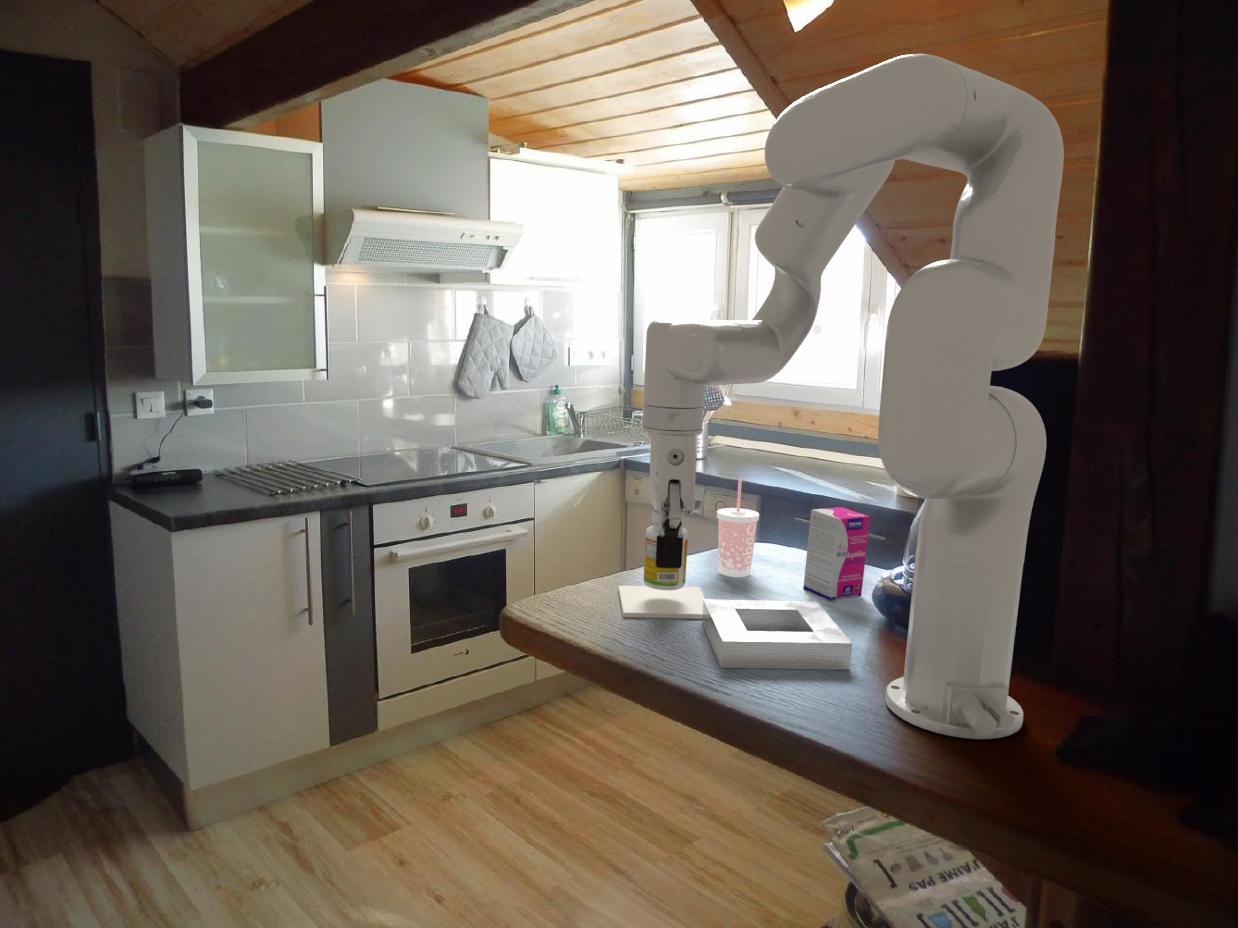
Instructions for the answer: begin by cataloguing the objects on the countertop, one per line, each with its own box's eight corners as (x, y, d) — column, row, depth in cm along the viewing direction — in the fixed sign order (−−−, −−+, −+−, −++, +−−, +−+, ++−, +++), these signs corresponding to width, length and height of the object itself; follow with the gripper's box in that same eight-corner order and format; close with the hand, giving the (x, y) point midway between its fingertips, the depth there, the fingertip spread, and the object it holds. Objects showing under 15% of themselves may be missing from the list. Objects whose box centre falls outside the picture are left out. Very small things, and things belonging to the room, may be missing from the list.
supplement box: (831, 602, 121) (838, 518, 119) (802, 589, 126) (808, 508, 124) (863, 597, 124) (871, 514, 122) (833, 584, 129) (840, 505, 127)
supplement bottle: (663, 576, 121) (666, 504, 119) (693, 586, 117) (698, 512, 116) (634, 583, 117) (638, 509, 116) (665, 593, 113) (669, 517, 112)
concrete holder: (849, 669, 98) (852, 643, 98) (721, 667, 97) (722, 640, 97) (815, 624, 112) (816, 601, 111) (701, 622, 111) (703, 599, 111)
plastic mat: (712, 618, 113) (712, 614, 113) (623, 617, 112) (623, 612, 112) (699, 591, 123) (699, 587, 123) (618, 589, 123) (618, 585, 123)
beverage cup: (730, 580, 129) (736, 483, 127) (704, 569, 134) (710, 475, 132) (764, 575, 132) (770, 480, 130) (737, 564, 137) (743, 473, 135)
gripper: (713, 430, 105) (704, 581, 108) (693, 412, 122) (686, 543, 125) (648, 428, 105) (641, 579, 108) (637, 411, 122) (631, 542, 125)
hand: (665, 558), depth 117 cm, fingers closed on supplement bottle, 5 cm apart
